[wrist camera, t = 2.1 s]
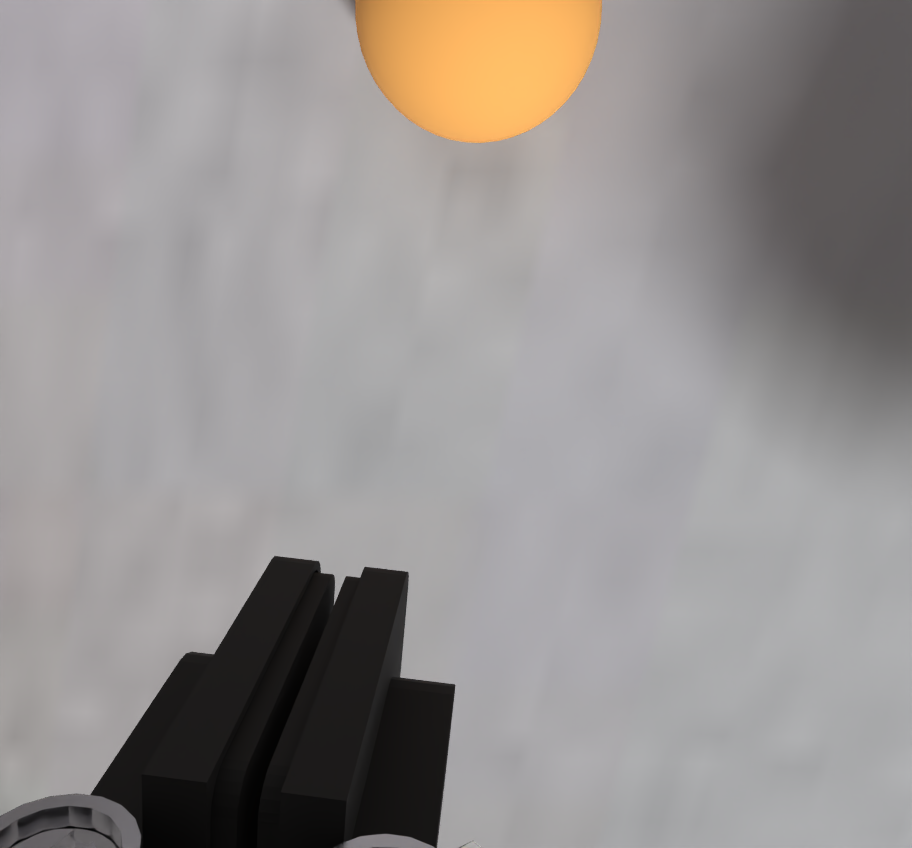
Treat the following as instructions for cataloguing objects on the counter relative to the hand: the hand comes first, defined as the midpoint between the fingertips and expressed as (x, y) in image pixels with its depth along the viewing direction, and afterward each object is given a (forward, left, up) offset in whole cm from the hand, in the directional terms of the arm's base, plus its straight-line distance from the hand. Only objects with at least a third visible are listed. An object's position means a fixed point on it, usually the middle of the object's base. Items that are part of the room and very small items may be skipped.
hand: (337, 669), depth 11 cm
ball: (0, -9, -14) cm, 17 cm away
